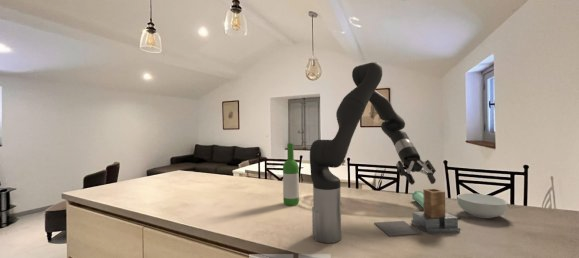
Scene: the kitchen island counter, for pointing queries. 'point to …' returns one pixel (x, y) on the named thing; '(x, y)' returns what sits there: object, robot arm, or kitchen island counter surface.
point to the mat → (397, 228)
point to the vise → (436, 223)
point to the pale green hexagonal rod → (418, 197)
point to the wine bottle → (290, 179)
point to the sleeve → (434, 202)
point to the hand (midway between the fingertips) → (423, 183)
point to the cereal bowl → (482, 205)
